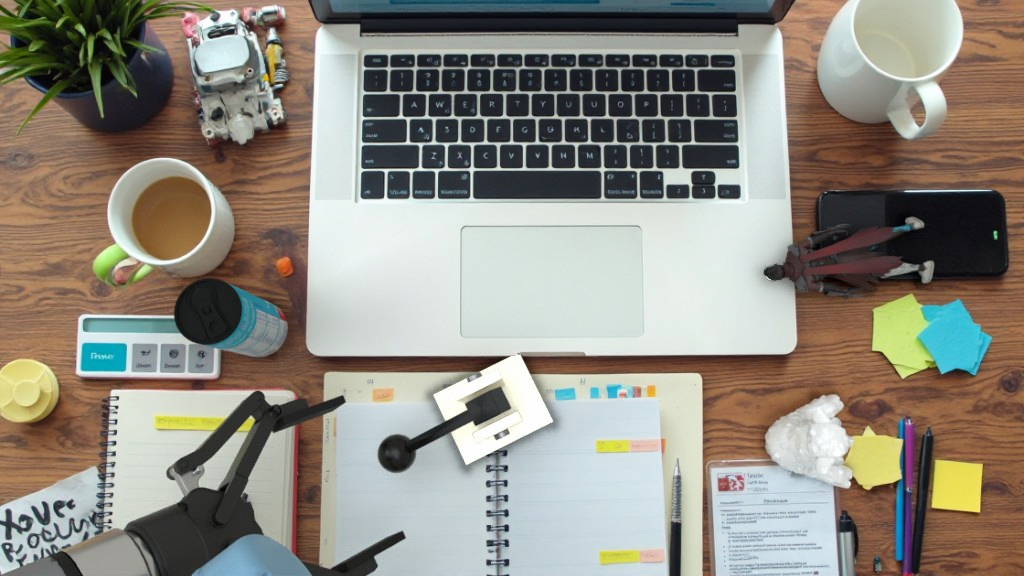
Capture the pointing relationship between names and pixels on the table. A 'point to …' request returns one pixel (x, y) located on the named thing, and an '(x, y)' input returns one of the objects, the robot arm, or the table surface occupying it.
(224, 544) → the robot arm
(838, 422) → the sitting furry creature
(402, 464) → the switch
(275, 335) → the beverage can
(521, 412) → the white c-shaped piece
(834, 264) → the action figure
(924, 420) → the table surface
